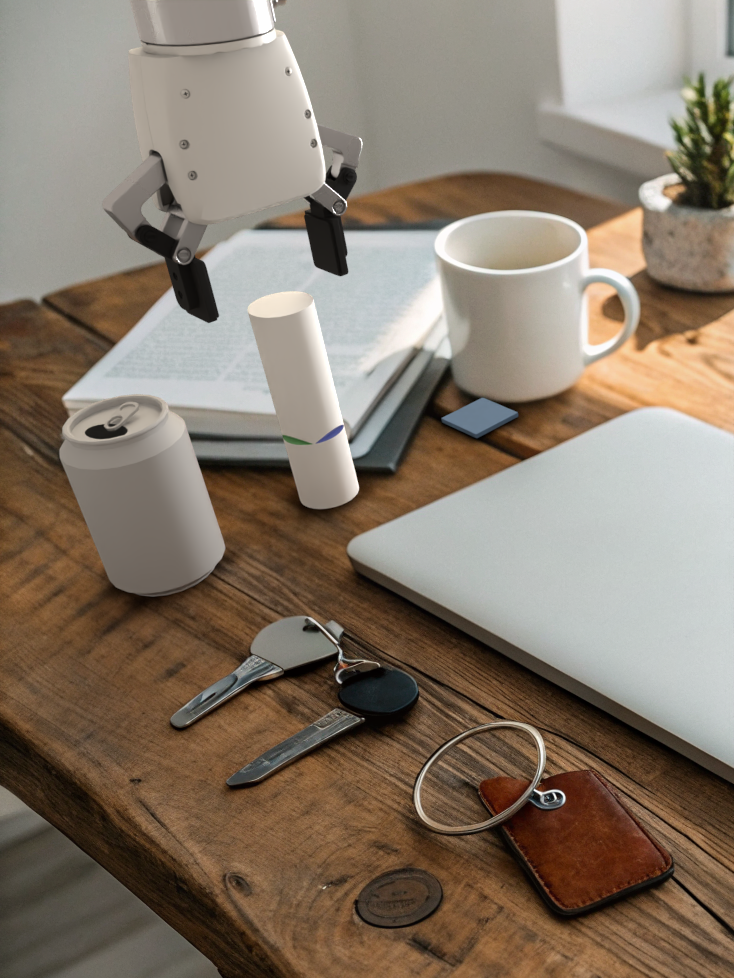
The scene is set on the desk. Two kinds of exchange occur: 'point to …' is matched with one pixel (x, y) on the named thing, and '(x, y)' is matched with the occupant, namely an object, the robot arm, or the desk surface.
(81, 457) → the can
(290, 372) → the tube
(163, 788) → the desk surface
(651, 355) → the desk surface
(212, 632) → the desk surface
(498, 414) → the tile
